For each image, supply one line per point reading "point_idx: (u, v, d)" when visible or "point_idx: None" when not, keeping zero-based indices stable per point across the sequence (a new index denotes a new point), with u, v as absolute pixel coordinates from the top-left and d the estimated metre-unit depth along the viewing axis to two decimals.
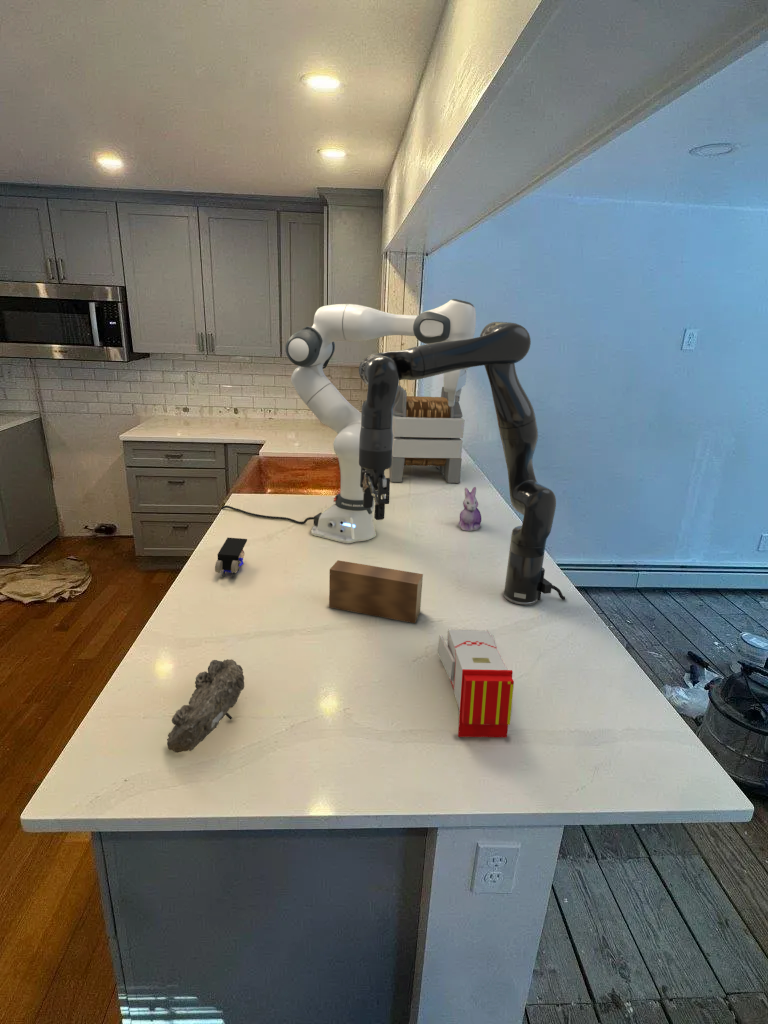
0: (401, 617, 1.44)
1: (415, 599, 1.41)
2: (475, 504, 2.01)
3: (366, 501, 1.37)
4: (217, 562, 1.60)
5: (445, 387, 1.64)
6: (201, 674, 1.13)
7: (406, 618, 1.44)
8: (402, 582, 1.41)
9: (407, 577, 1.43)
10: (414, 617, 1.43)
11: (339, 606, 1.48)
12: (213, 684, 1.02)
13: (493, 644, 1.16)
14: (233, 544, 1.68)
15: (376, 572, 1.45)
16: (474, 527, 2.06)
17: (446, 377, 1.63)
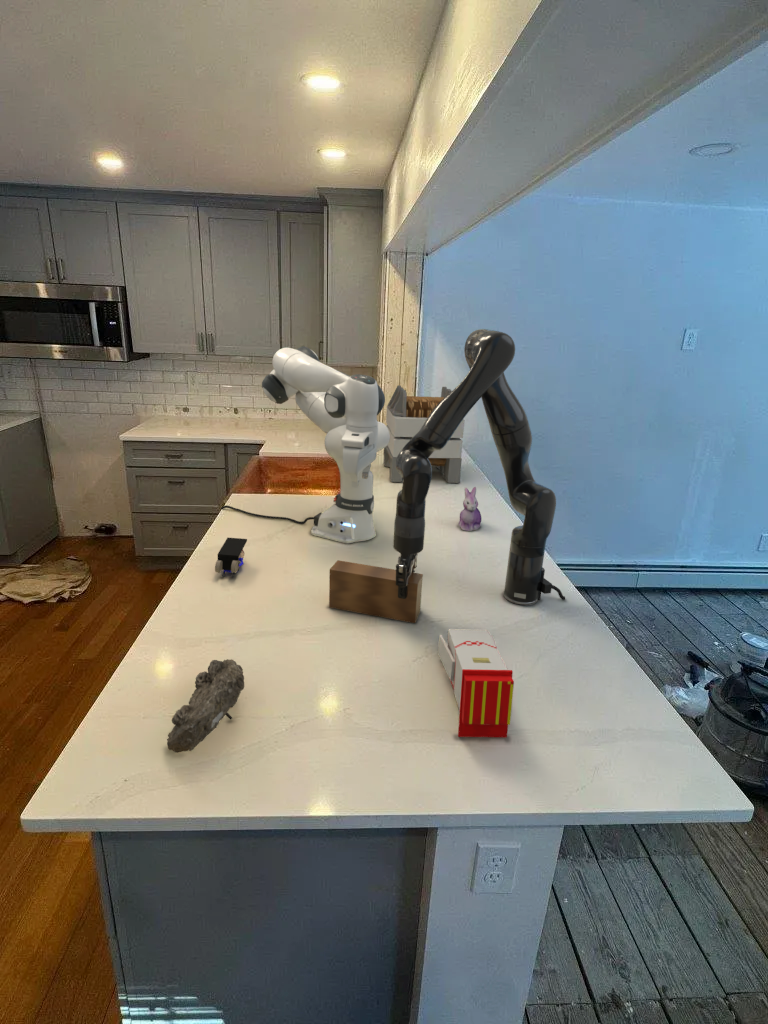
0: (401, 617, 1.44)
1: (415, 599, 1.41)
2: (475, 504, 2.01)
3: None
4: (217, 562, 1.60)
5: (345, 470, 1.52)
6: (201, 674, 1.13)
7: (406, 618, 1.44)
8: None
9: None
10: (414, 617, 1.43)
11: (339, 606, 1.48)
12: (213, 684, 1.02)
13: (493, 644, 1.16)
14: (233, 544, 1.68)
15: (376, 572, 1.45)
16: (474, 527, 2.06)
17: (345, 459, 1.51)
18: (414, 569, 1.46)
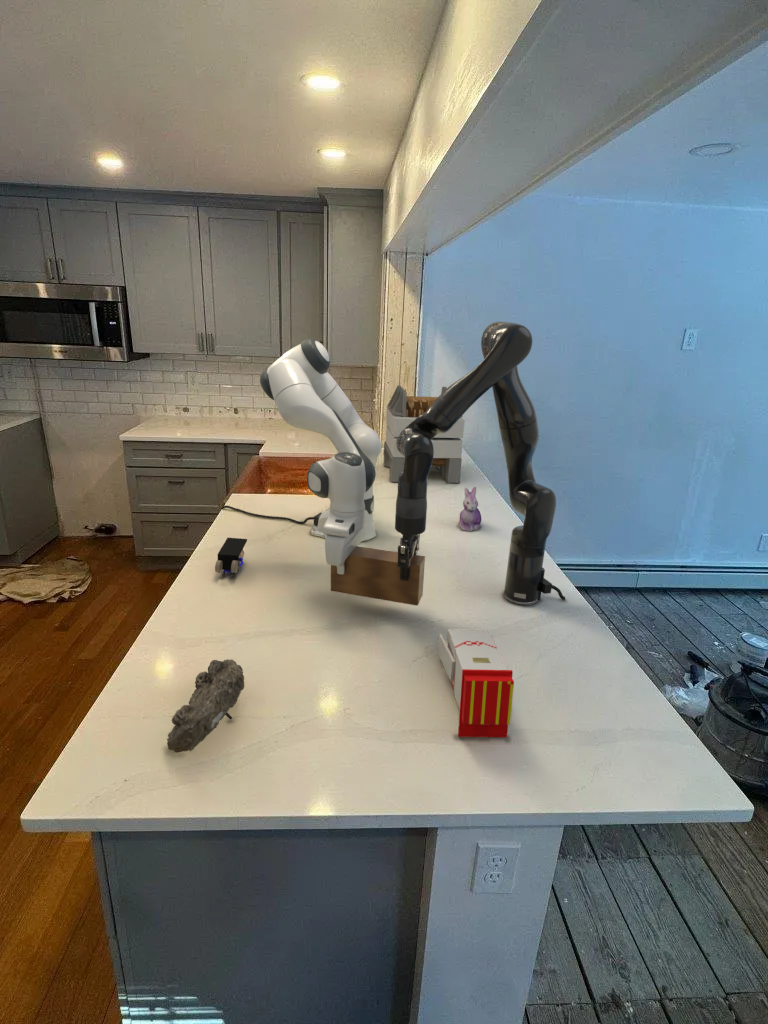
0: (403, 600, 1.42)
1: (417, 581, 1.40)
2: (475, 504, 2.01)
3: None
4: (217, 562, 1.60)
5: (327, 560, 1.37)
6: (201, 674, 1.13)
7: (409, 601, 1.42)
8: None
9: None
10: (417, 599, 1.41)
11: (340, 589, 1.47)
12: (213, 684, 1.02)
13: (493, 644, 1.16)
14: (233, 544, 1.68)
15: (378, 555, 1.43)
16: (474, 527, 2.06)
17: (328, 549, 1.36)
18: (416, 551, 1.45)
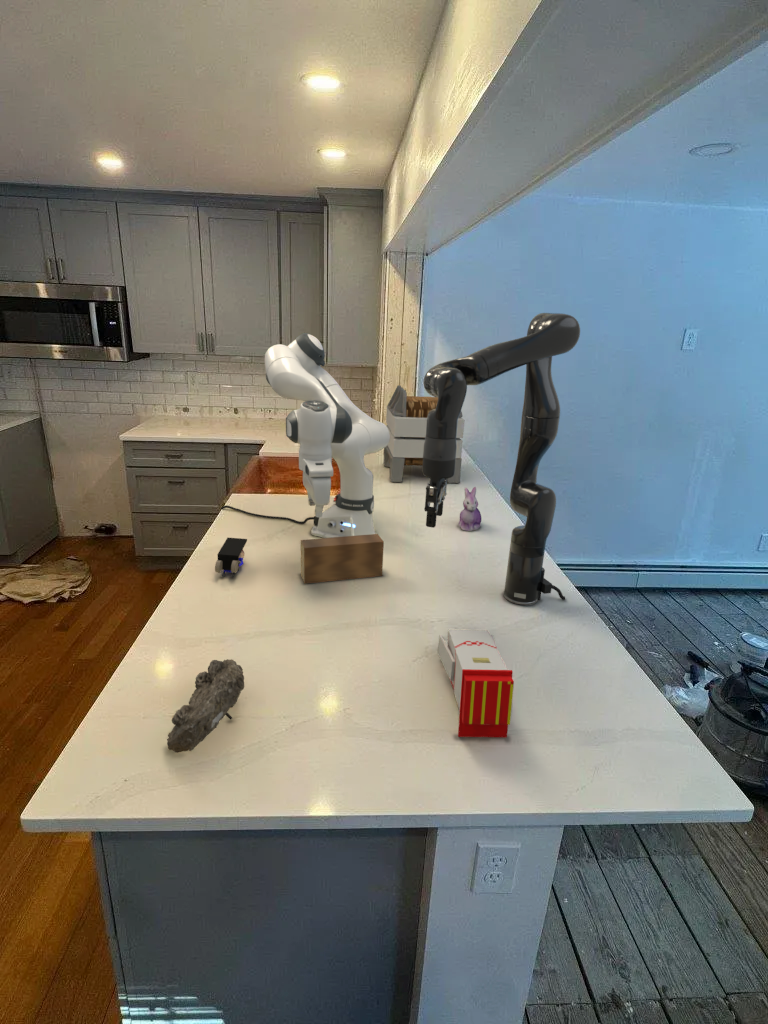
0: (370, 574, 1.67)
1: (382, 555, 1.66)
2: (475, 504, 2.01)
3: None
4: (217, 562, 1.60)
5: (317, 501, 1.46)
6: (201, 674, 1.13)
7: (375, 574, 1.67)
8: (370, 543, 1.63)
9: (370, 539, 1.65)
10: (381, 571, 1.67)
11: (314, 580, 1.62)
12: (213, 684, 1.02)
13: (493, 644, 1.16)
14: (233, 544, 1.68)
15: (343, 541, 1.63)
16: (474, 527, 2.06)
17: (317, 491, 1.46)
18: (444, 496, 1.39)
